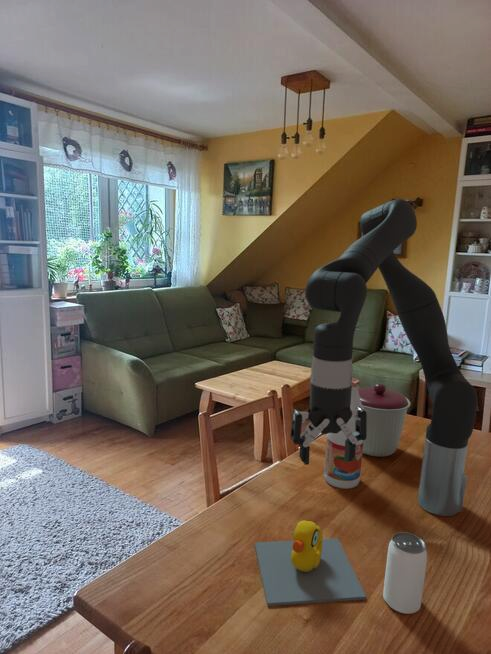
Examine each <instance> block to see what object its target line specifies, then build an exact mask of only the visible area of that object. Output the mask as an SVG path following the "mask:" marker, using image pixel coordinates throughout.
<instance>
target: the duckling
mask: <svg viewBox="0 0 491 654" xmlns="http://www.w3.org/2000/svg"><path fill="white" fill-rule="evenodd" d="M322 539H323V531H322V529H321V527H320V526H319V525H316V523H315V522H313V521H310V520H309V521H308V520H304V519H303V520H300V521H299V522H297V524H296V525H295V526H294V529H293V533H292V541H294V543H293V546H292V547H293V550H292V554H291V561H292V564H293V566H294V567H295V568H297V569H298V570H300V571H303V572H309V571H311V570H312V569H313V568H317V566H318V564H319V562H320V558H321V553H322Z"/></svg>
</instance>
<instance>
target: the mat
mask: <svg viewBox="0 0 491 654" xmlns="http://www.w3.org/2000/svg"><path fill="white" fill-rule="evenodd" d="M293 543H294V540H279V541H262V542H261V541H260V542H259V541H258V542H254V549H255V554H256V559H257V563H258V568H259V573H260V577H261V578H260V579H261V581H262V588H263V591H264V592H263V593H264V597H265V601H266V605H267V607H274V606H275V607H277V606H287V605H290V606H291V605H305V604H315V603H332V602H346V601H359V600H360V601H361V600H367V595H366V593H365V591H364V589H363V587H362V585H361V583H360V581H359V578H358V576H357V575H356V572H355V571H354V568H353V566H352V564H351V562H350V560H349V558H348V556H347V554H346V552H345V550H344V548H343V546H342V544H341V542H340V539H339V538H322V553H321V558H320V562H319V564H318V566H317V568H313V569H312V570H311V571H309V572H303V571H300V570H298V569H297V568H295V567H294V566H293V564H292V561H291V554H292V550H293V547H292V546H293Z"/></svg>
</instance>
